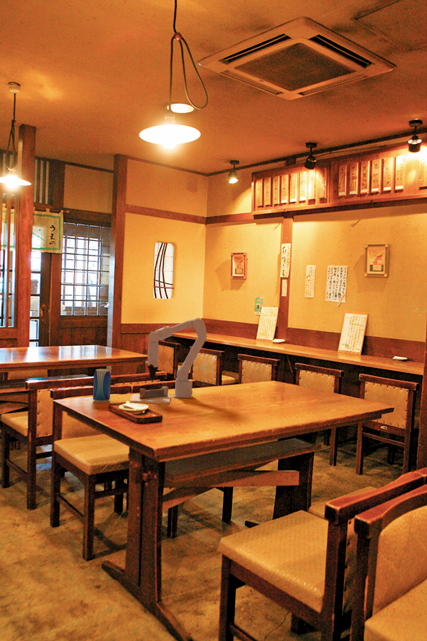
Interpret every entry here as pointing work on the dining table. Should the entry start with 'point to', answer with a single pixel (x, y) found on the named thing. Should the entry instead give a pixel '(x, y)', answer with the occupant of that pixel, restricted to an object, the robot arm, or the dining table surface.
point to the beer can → (101, 386)
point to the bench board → (150, 399)
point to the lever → (154, 392)
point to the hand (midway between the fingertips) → (152, 378)
